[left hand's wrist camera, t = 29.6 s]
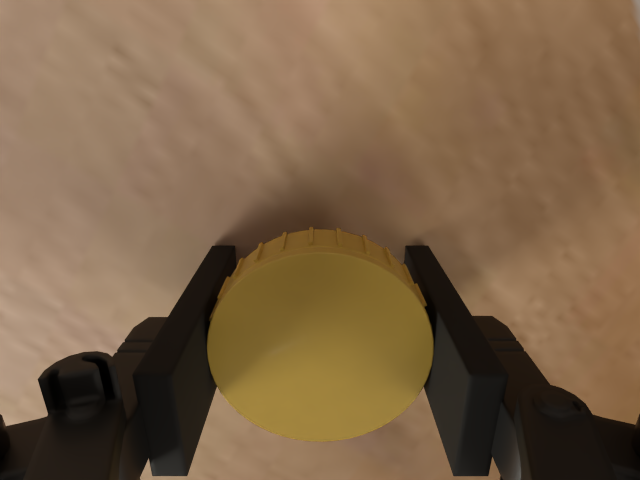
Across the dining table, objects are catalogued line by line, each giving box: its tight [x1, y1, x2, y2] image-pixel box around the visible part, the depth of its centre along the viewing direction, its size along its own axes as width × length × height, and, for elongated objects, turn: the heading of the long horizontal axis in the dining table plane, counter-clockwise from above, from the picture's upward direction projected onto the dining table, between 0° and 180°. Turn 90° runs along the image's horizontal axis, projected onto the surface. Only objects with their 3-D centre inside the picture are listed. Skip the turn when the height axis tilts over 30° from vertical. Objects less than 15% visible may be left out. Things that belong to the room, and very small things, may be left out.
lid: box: [207, 227, 434, 442], centre depth 12 cm, size 6×6×2 cm
